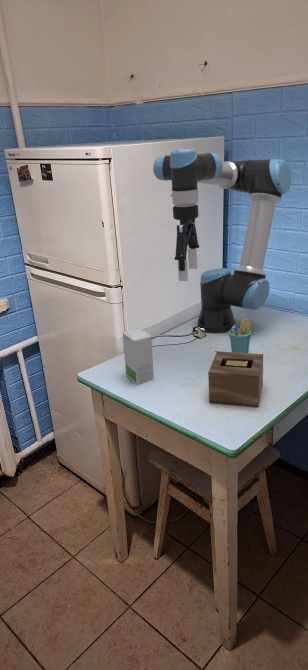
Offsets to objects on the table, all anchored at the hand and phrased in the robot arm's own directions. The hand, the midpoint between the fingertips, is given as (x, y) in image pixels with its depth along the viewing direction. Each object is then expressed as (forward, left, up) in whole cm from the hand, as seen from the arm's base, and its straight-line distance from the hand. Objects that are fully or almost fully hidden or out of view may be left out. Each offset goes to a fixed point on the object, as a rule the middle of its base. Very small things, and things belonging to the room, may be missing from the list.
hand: (188, 274), depth 147 cm
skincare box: (+11, -15, -32) cm, 37 cm away
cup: (-5, +15, -32) cm, 36 cm away
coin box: (+16, +17, -32) cm, 39 cm away
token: (+16, +17, -31) cm, 39 cm away
